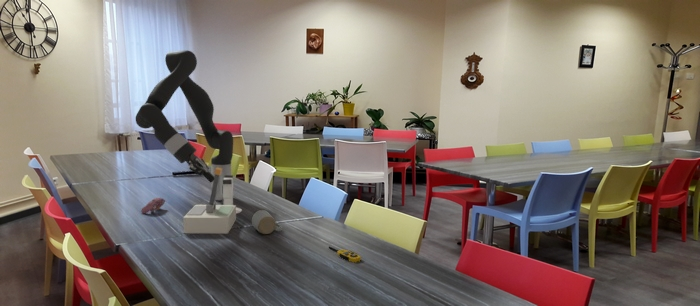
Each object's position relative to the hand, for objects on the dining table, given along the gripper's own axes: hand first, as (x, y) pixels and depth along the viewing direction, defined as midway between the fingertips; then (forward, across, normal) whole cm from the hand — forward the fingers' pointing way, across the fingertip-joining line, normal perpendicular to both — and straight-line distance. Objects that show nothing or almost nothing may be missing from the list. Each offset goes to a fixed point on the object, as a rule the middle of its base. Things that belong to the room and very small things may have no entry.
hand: (213, 180), depth 167 cm
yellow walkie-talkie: (+47, -29, -21) cm, 60 cm away
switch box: (+12, 0, +13) cm, 18 cm away
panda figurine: (+14, +22, +12) cm, 28 cm away
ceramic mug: (+28, -6, -2) cm, 29 cm away
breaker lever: (+7, 0, +8) cm, 11 cm away
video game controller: (-8, +20, +34) cm, 40 cm away
